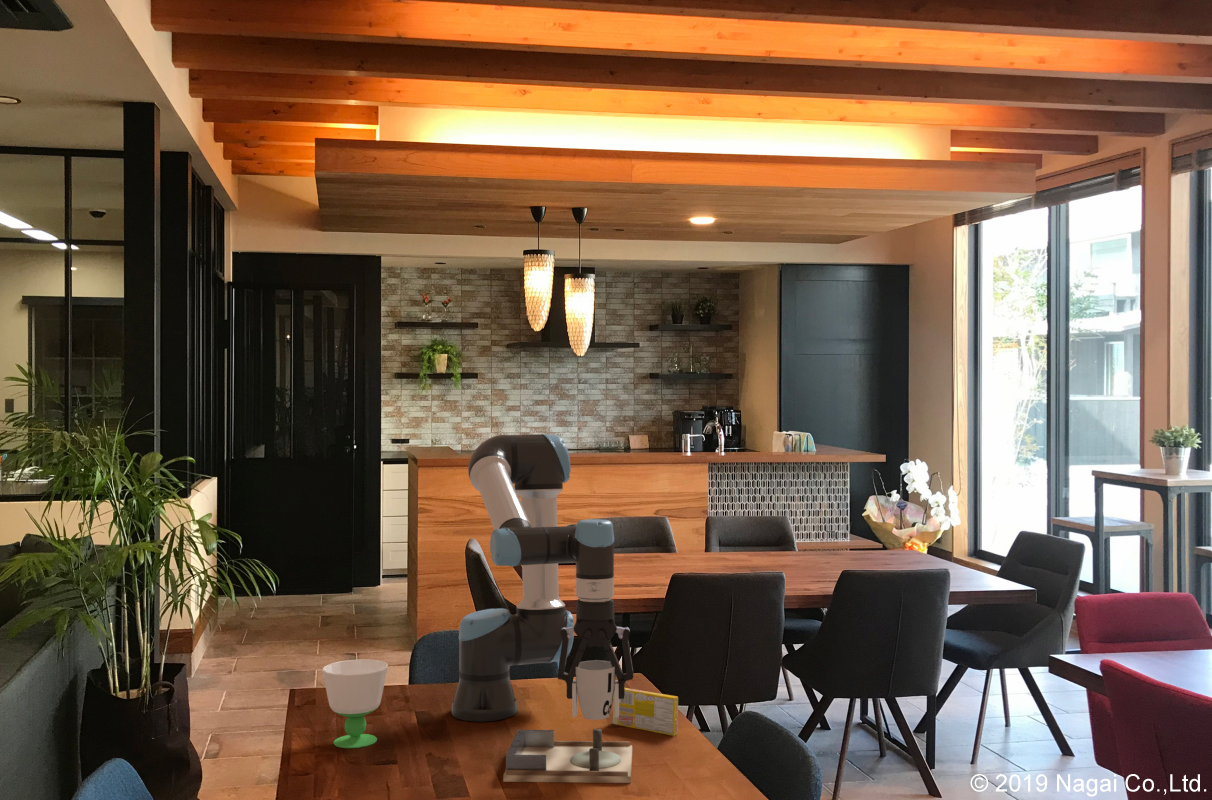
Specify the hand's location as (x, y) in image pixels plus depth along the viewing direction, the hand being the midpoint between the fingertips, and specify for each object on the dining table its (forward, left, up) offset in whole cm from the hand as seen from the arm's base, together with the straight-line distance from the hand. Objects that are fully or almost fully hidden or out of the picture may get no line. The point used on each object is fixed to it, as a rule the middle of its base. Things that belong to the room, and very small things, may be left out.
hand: (595, 715), depth 198 cm
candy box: (-8, +25, -10) cm, 28 cm away
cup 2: (0, 0, 0) cm, 0 cm away
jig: (-4, -3, -10) cm, 11 cm away
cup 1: (-49, -22, -10) cm, 55 cm away
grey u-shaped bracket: (-10, -8, -9) cm, 16 cm away
